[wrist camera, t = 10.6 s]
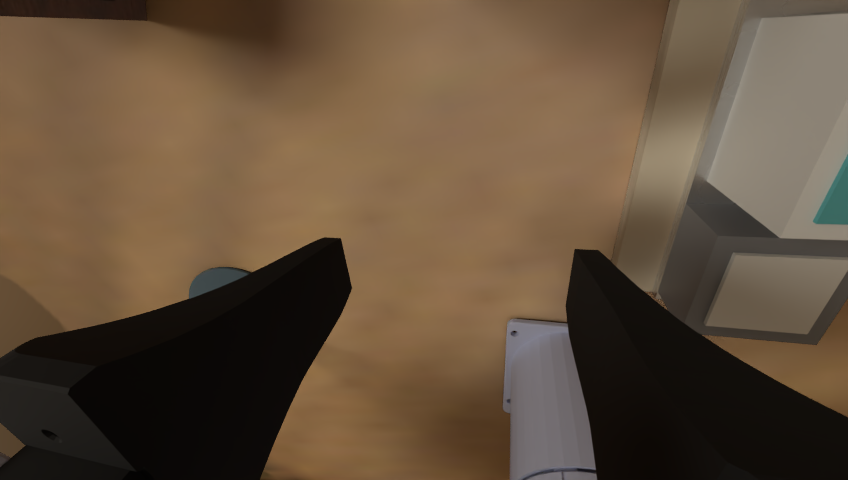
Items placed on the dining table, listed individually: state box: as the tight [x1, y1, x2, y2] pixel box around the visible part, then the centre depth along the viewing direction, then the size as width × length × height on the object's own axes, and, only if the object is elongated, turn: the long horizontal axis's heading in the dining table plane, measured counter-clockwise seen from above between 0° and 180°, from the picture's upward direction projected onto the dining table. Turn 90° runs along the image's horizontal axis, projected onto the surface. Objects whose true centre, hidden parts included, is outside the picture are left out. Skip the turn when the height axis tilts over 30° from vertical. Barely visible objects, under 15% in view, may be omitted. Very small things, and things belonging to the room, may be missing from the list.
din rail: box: [652, 0, 848, 299], centre depth 14 cm, size 19×5×1 cm, turn 5°
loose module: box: [707, 11, 848, 240], centre depth 11 cm, size 6×4×5 cm, turn 5°
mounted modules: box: [658, 204, 848, 345], centre depth 12 cm, size 18×5×3 cm, turn 5°
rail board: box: [611, 0, 742, 292], centre depth 14 cm, size 19×9×1 cm, turn 5°
